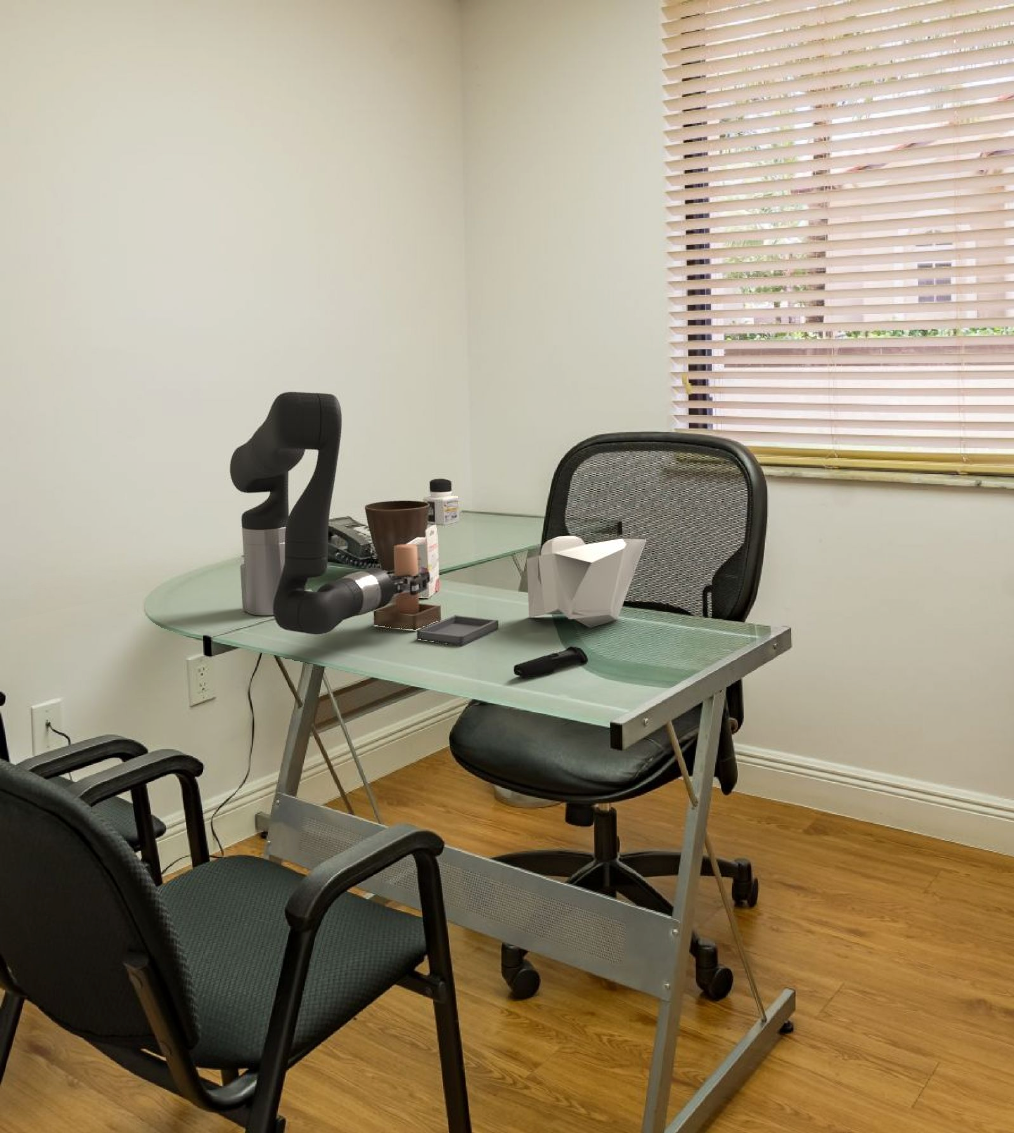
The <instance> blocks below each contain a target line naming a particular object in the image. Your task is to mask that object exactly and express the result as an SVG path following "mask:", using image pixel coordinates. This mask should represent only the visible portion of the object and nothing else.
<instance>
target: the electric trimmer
mask: <svg viewBox="0 0 1014 1133" xmlns="http://www.w3.org/2000/svg"><path fill="white" fill-rule="evenodd" d="M588 661H589V658H588V656H587V654H586V653H585V651H584V650H583V649H582V648H580V647H577V646H572V645H571V646H568V647H567V648H566V649H563V650H561V651H559V652H552V653H550V654H547V655H543V656H539V657H536V658H534V659H529V660H527V661H523V662H520V663H517V664H514V666H513V673H514V675H515V676H518V677H522V678H530V677H535V676H542V675H548V674H553V673H554V672H555V670H559V669H563V668H565V667H569V666H573V665H577V664H584V665H586V664H587V663H588Z"/></svg>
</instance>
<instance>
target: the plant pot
mask: <svg viewBox="0 0 1014 1133" xmlns="http://www.w3.org/2000/svg"><path fill="white" fill-rule="evenodd" d="M429 506H430V504H429V503H427V502H423V501H421V500H386V501H379V502H378V501H375V502H372V503H367V504H365V505H364V512H365V515H366V522H367V527H368V529H369V535H370V537H371V542H372V544H373V548H374V550H375V554H376V557H377V559H378V561H379V564H380V567H381V569H382V570H383V571H384V570H385V571H390V570H393V569H395V568H394V546H396V545H403V544H407V543H409V542H411V541H412V540H414V539H415V538H417V537H422V538H426V534H425V530H426V529H428V525H429V524H428V516H429Z"/></svg>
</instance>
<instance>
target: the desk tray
mask: <svg viewBox="0 0 1014 1133" xmlns="http://www.w3.org/2000/svg"><path fill="white" fill-rule="evenodd" d="M497 630H499V620H498V619H491V618H481V617H472V616H464V615H456V614H455V615H452V616H449V617H447V618H445V619H441V621H440V622H437V623H435V624H432V625H430V626H428V627H425V628H423V629H420V630H418V631H416V639H421V640H427V641H434V642H439V643H438V644H442V643H447V644H446V645H449V644H451V646H457V645H459V646H458V647H463V645H464V646H465V645H468V644H469V643H472V642H474V641H476V640H479V639H481V638H482V637H485V636H487V635H489V634H491V633H494V632H496V631H497ZM427 641H426V642H427ZM434 642H433V643H434ZM467 643H468V644H467Z"/></svg>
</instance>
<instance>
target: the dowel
mask: <svg viewBox="0 0 1014 1133" xmlns="http://www.w3.org/2000/svg"><path fill="white" fill-rule="evenodd" d="M394 568H395V575H397V574H403V573H407V574H410V575H414V574H418V557H417V545H411V544H403V545H396V546H394ZM402 579H403V582H404V578H402ZM413 579H414V578H413ZM413 579H411V580H413ZM394 597H395V603H396V613H402V614H410V615H415V614H417V613H419V603H420V599H419V593H418V594H416V595H410V592H407V593H401V594H398V595H397V596H394Z"/></svg>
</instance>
